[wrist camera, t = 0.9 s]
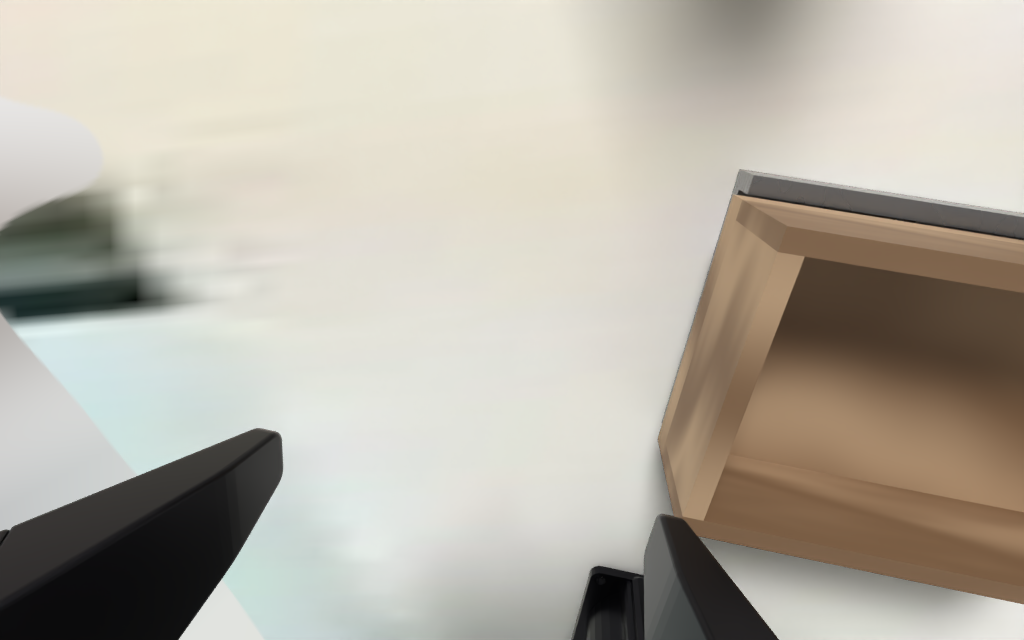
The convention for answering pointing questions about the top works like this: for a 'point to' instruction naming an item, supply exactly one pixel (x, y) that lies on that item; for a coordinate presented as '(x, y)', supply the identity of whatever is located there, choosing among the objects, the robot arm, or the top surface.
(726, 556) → the top surface
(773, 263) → the wooden drawer
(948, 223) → the track
